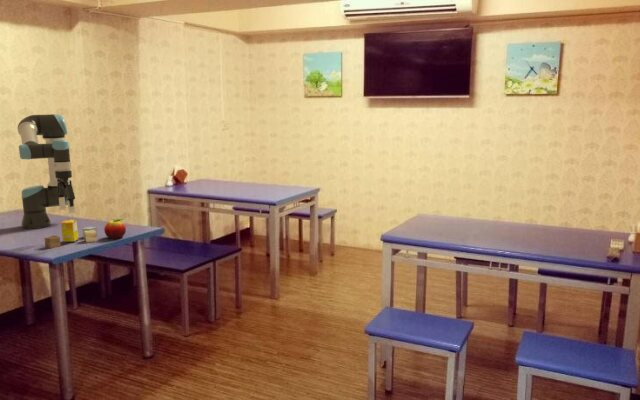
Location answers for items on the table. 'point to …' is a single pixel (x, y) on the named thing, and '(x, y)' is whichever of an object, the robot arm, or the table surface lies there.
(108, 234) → the fruit
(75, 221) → the supplement box
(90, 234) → the maple cube
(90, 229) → the sage-green cube
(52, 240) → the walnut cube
